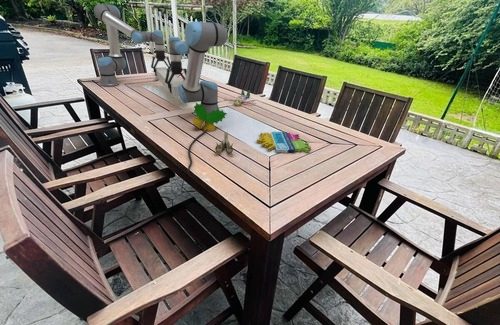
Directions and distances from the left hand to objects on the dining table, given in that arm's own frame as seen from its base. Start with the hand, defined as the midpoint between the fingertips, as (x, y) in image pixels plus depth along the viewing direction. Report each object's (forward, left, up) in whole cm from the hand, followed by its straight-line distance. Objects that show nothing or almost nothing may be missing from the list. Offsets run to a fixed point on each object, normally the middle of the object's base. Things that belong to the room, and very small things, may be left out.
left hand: (162, 76), depth 239 cm
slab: (+19, -22, -1) cm, 29 cm away
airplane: (-22, +41, -11) cm, 48 cm away
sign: (+124, -80, -11) cm, 148 cm away
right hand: (+39, -43, 0) cm, 58 cm away
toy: (+79, -10, -11) cm, 80 cm away
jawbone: (+96, -103, -11) cm, 141 cm away
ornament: (+77, -76, -11) cm, 109 cm away
